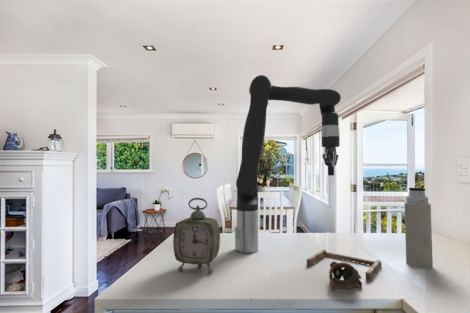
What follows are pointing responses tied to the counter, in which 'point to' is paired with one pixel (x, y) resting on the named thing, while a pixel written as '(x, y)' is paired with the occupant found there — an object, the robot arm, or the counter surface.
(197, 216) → the tabletop clock
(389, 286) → the counter surface
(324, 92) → the robot arm
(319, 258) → the walnut mug dock
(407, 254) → the thermos bottle
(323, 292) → the counter surface
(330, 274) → the pottery mug
